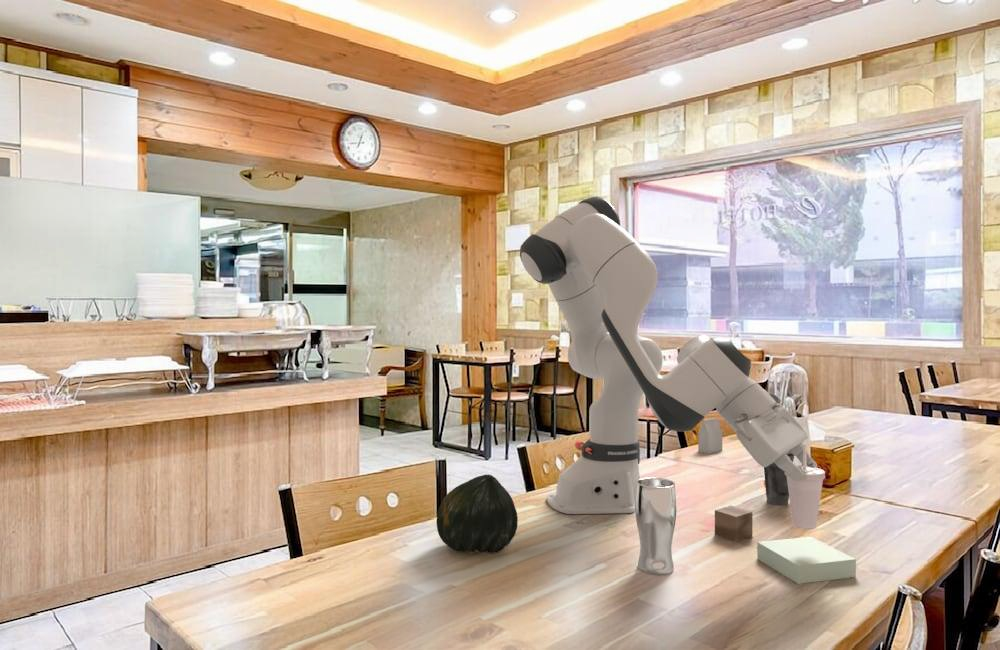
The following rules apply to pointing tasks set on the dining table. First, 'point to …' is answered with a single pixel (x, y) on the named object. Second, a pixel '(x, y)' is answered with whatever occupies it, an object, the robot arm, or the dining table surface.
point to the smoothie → (805, 495)
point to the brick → (733, 523)
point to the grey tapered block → (710, 436)
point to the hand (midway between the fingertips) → (808, 474)
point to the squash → (477, 516)
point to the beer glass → (655, 524)
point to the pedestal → (806, 559)
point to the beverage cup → (776, 484)
